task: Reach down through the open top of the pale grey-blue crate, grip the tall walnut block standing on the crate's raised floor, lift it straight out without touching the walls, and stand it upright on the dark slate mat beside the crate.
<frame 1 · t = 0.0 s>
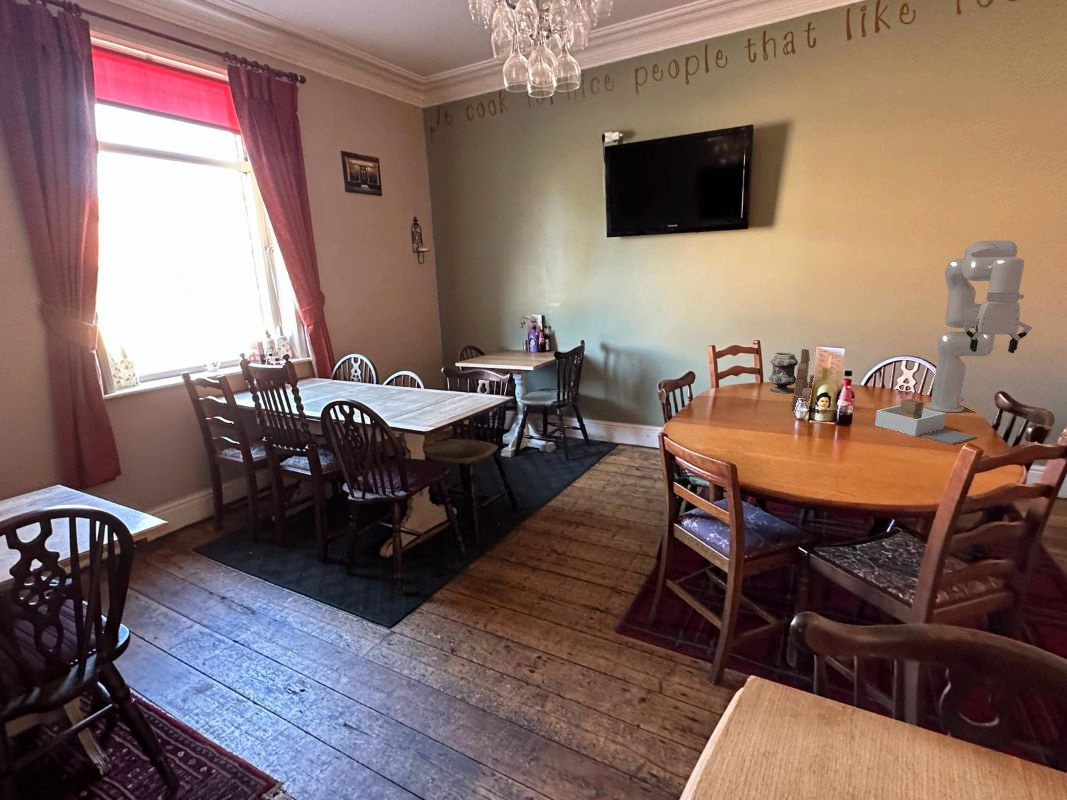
hand: (991, 351, 176), 31 cm above the table, tool pointing down, fingers open, 9 cm apart
wooden toy: (803, 407, 232), on the table
walnut block: (909, 422, 201), point 2 cm above the table, touching crate
apothecary jar: (781, 391, 259), on the table
slate mat: (948, 437, 190), on the table
crate: (908, 427, 201), on the table
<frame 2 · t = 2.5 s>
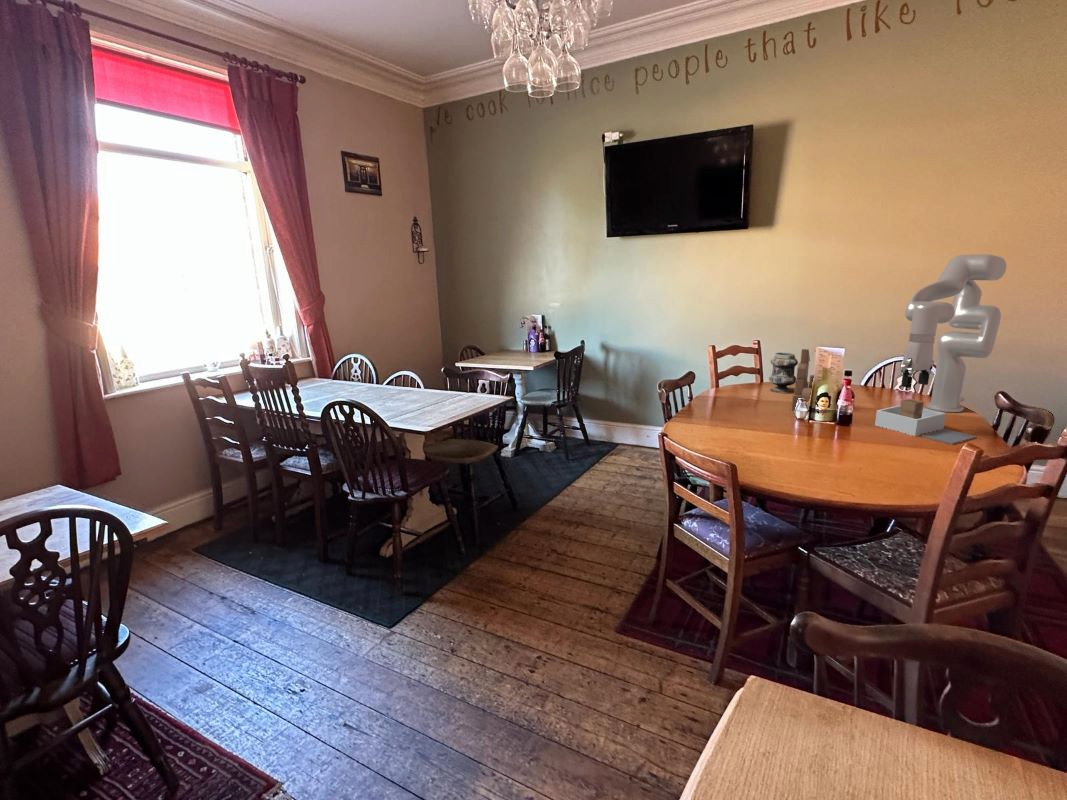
hand: (914, 385, 197), 16 cm above the table, tool pointing down, fingers open, 9 cm apart
nothing on the table moved.
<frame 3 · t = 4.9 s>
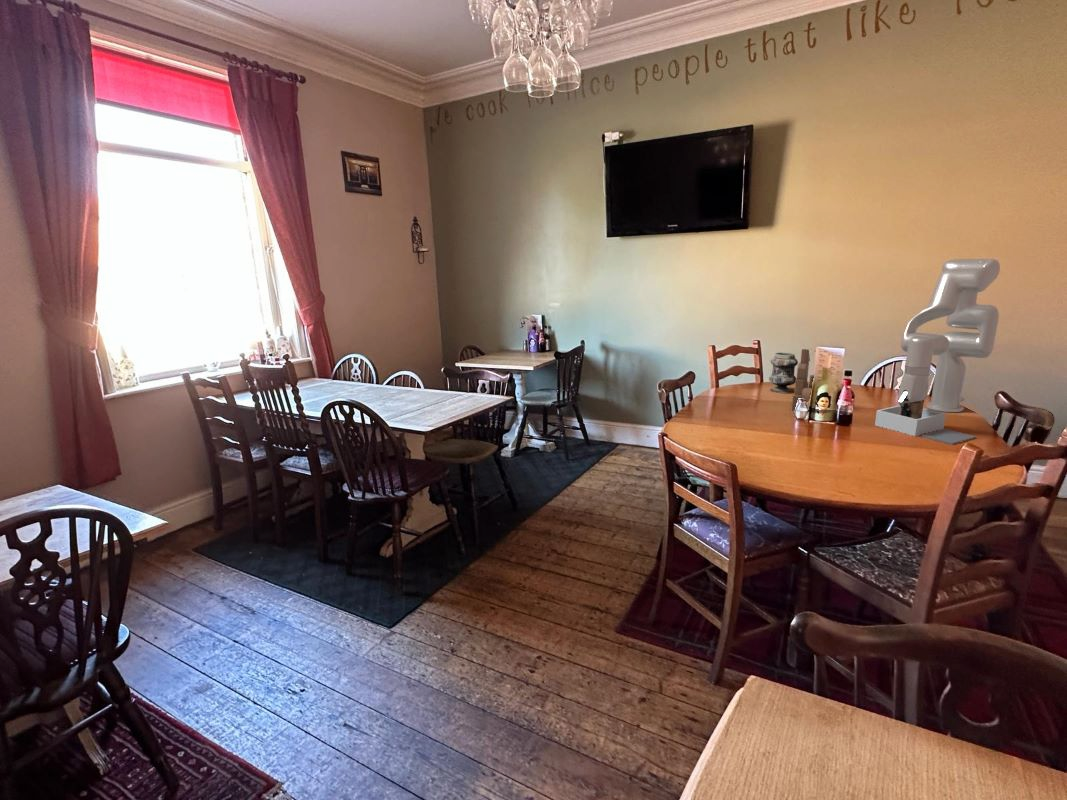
hand: (909, 418, 201), 3 cm above the table, tool pointing down, fingers closed on walnut block, 5 cm apart
walnut block: (909, 422, 201), point 2 cm above the table, touching crate, gripper
everything else where it was.
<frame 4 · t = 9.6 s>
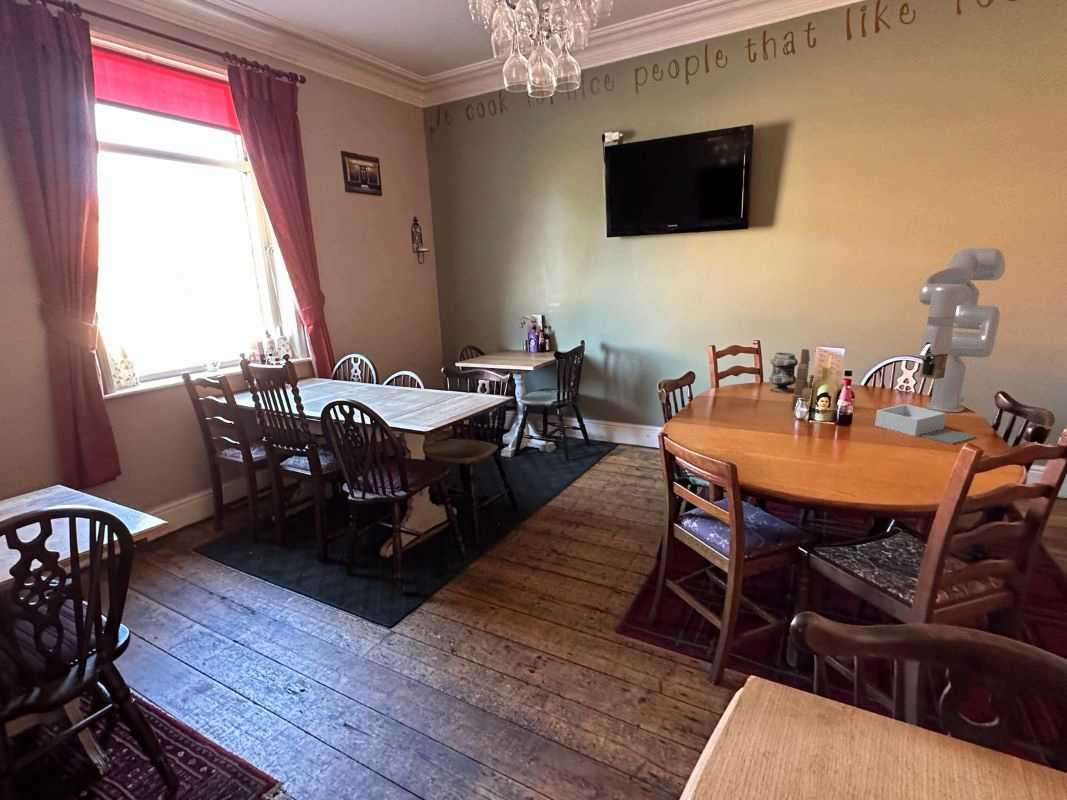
hand: (932, 373, 191), 22 cm above the table, tool pointing down, fingers closed on walnut block, 5 cm apart
walnut block: (931, 377, 192), point 20 cm above the table, touching gripper
everything else where it was.
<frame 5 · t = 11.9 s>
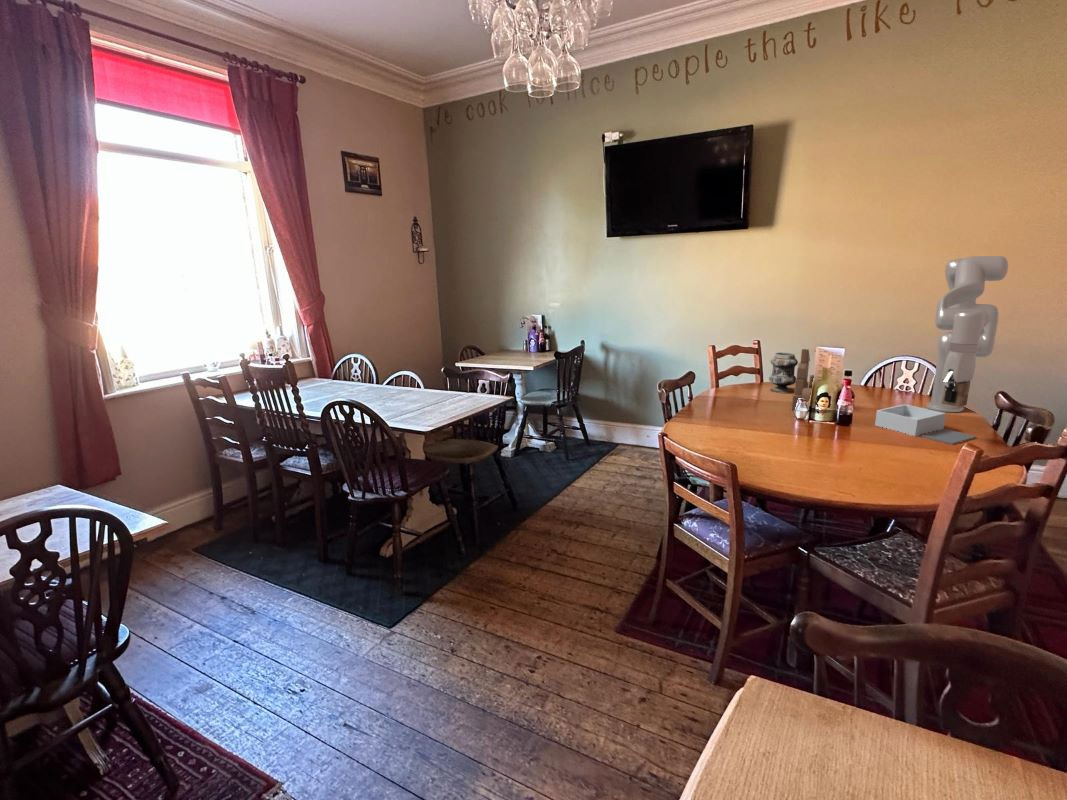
hand: (954, 400, 186), 13 cm above the table, tool pointing down, fingers closed on walnut block, 5 cm apart
walnut block: (953, 404, 186), point 12 cm above the table, touching gripper
everything else where it was.
when the fingers open (4 cm above the table, at t = 14.1 s): walnut block drops 2 cm, resting on slate mat.
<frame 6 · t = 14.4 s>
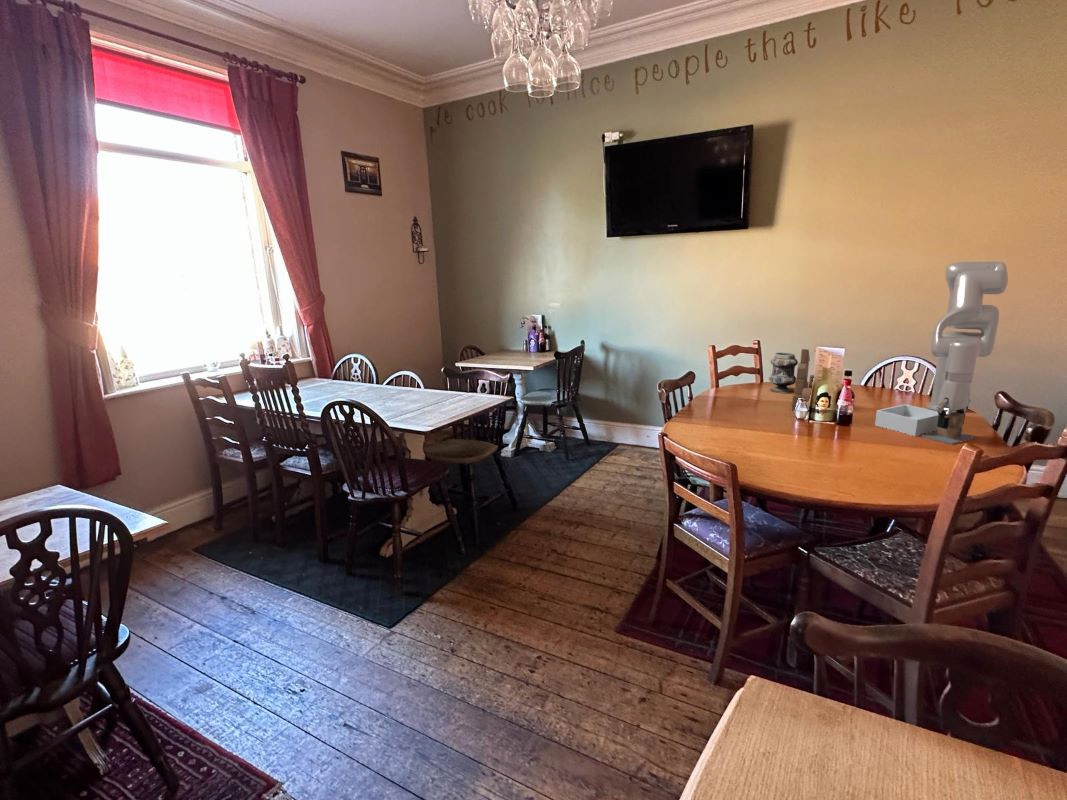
hand: (950, 425, 188), 4 cm above the table, tool pointing down, fingers open, 8 cm apart
walnut block: (948, 435, 189), point 1 cm above the table, touching slate mat
everything else where it was.
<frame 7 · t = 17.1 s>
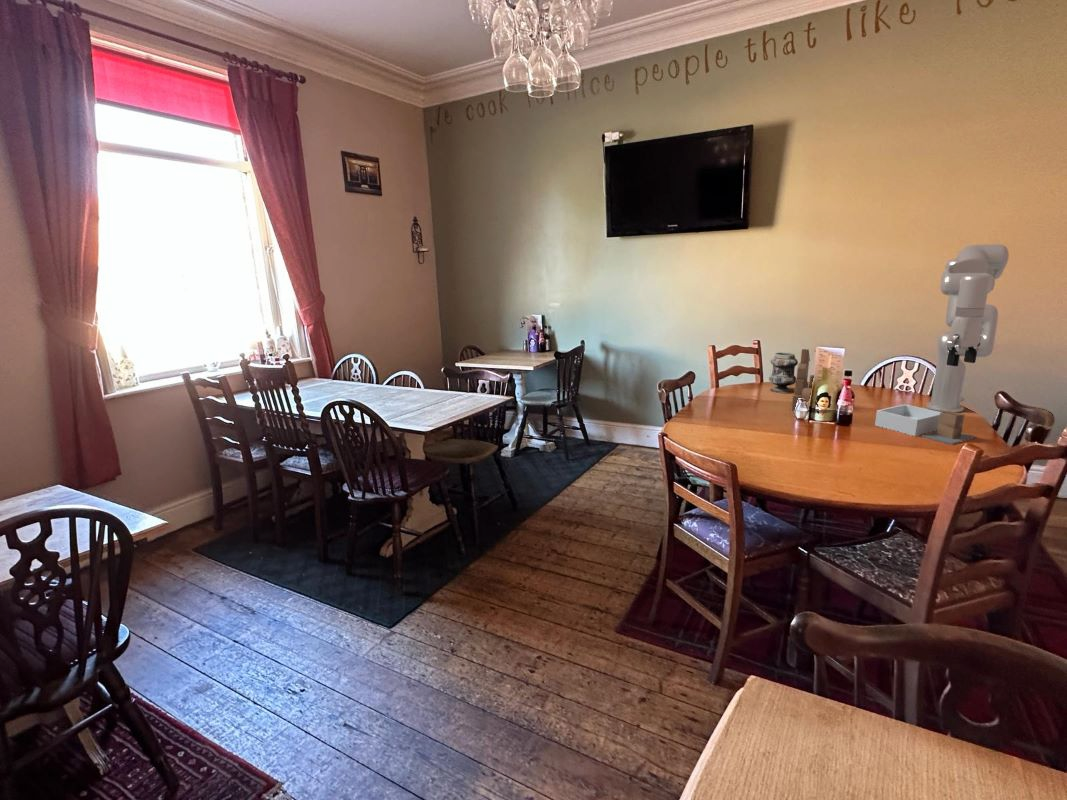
hand: (960, 363, 183), 26 cm above the table, tool pointing down, fingers open, 9 cm apart
nothing on the table moved.
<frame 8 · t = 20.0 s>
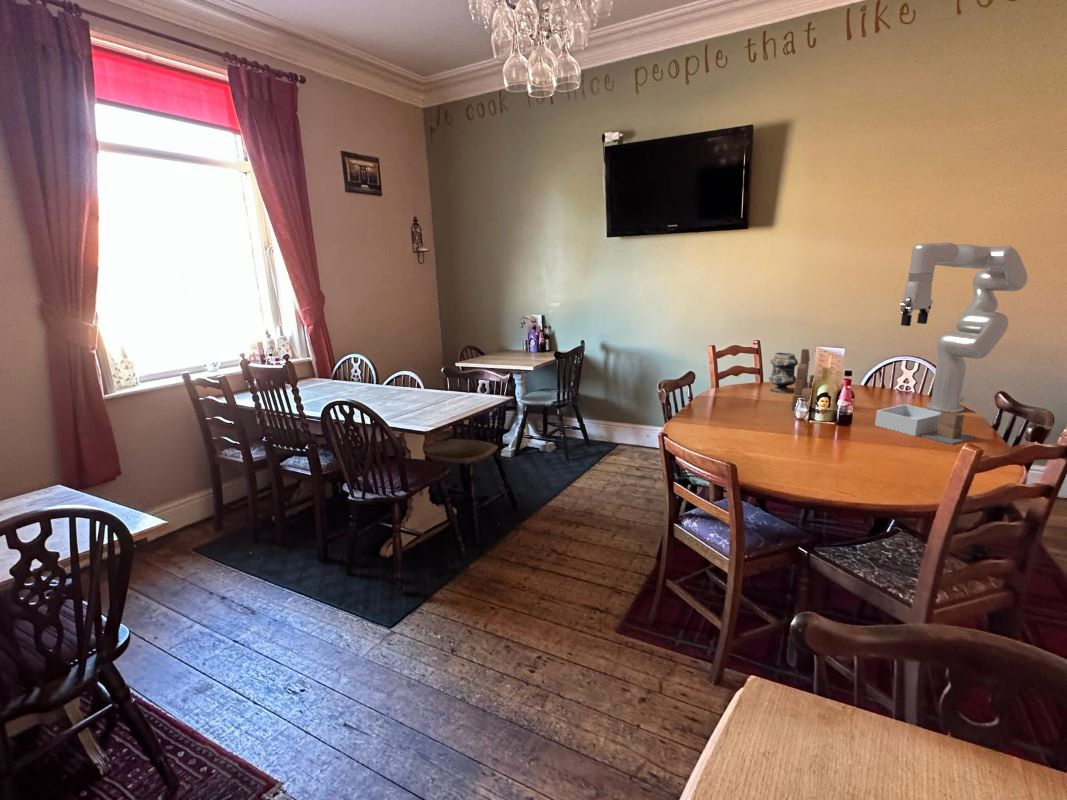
hand: (913, 324, 205), 36 cm above the table, tool pointing down, fingers open, 9 cm apart
nothing on the table moved.
at the end: walnut block inside the target area on the slate mat (0.1 cm from its centre), point 0.6 cm above the slate mat's base; walnut block tilted 0°; walnut block touching slate mat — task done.
